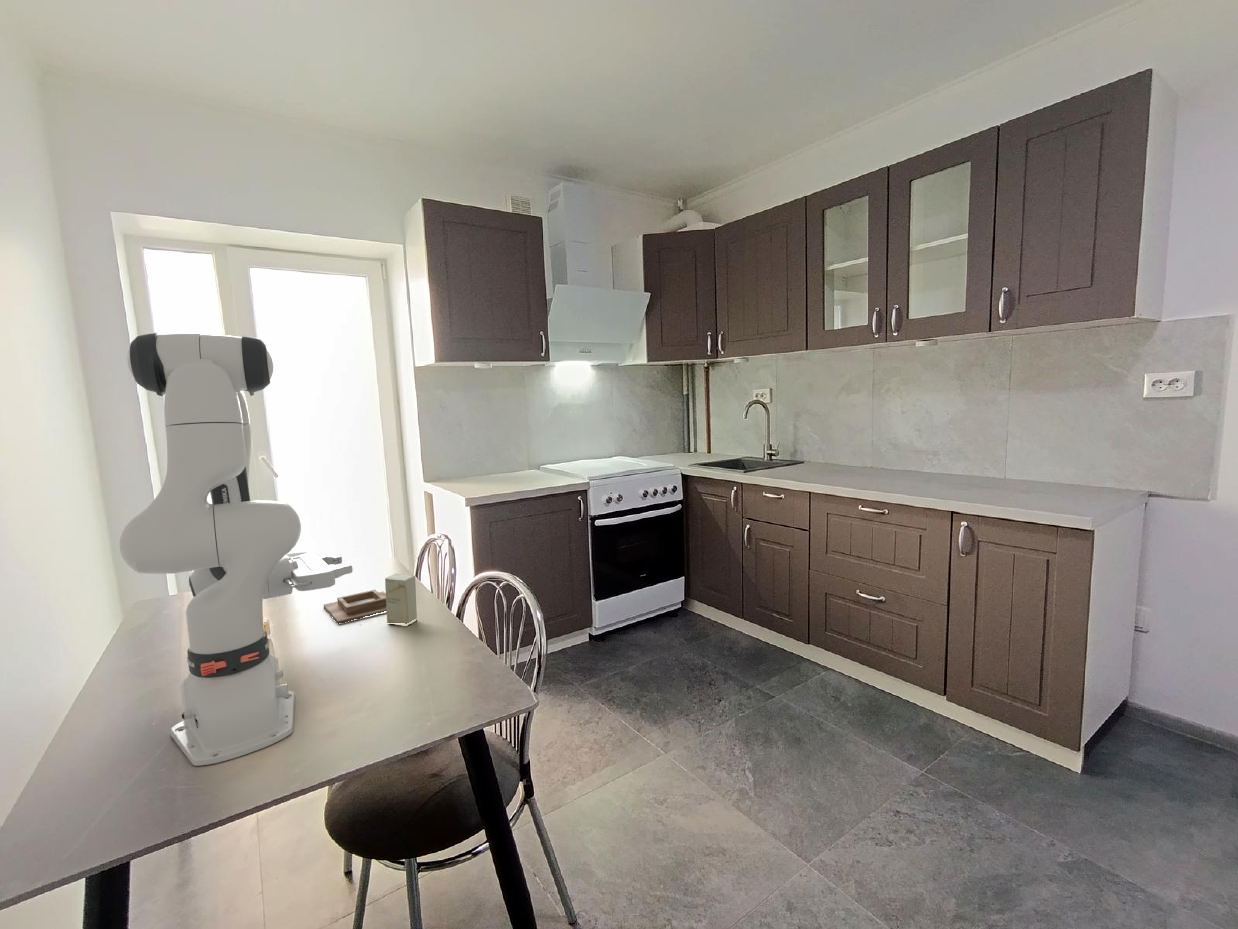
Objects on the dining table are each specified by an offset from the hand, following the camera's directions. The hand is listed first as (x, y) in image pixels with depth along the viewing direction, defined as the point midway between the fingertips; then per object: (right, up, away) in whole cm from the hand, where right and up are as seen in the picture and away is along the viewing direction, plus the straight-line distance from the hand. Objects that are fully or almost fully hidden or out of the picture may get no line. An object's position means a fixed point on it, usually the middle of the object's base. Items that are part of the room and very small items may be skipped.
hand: (346, 563), depth 137 cm
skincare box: (+10, -17, +9) cm, 22 cm away
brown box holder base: (-5, -16, +20) cm, 26 cm away
